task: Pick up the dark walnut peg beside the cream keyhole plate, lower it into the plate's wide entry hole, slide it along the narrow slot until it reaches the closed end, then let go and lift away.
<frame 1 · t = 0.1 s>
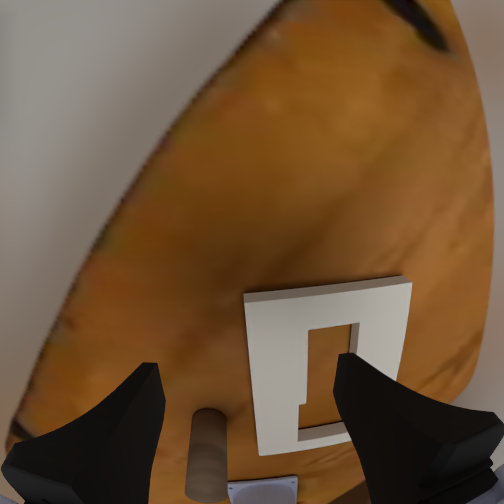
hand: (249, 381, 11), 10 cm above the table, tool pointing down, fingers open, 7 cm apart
peg: (209, 420, 24), on the table
keyhole plate: (325, 374, 23), on the table
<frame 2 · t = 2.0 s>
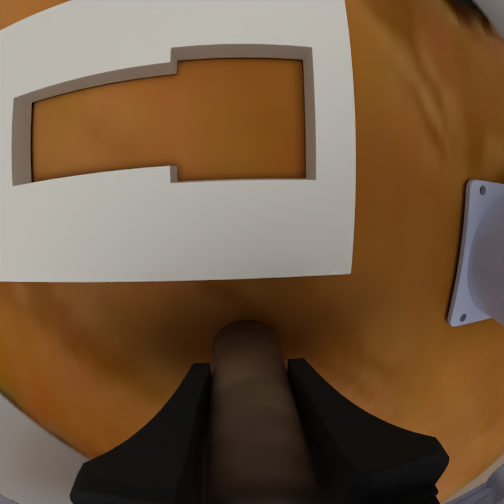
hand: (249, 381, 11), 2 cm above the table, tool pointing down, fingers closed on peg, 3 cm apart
peg: (246, 349, 14), on the table, touching gripper
keyhole plate: (139, 122, 11), on the table
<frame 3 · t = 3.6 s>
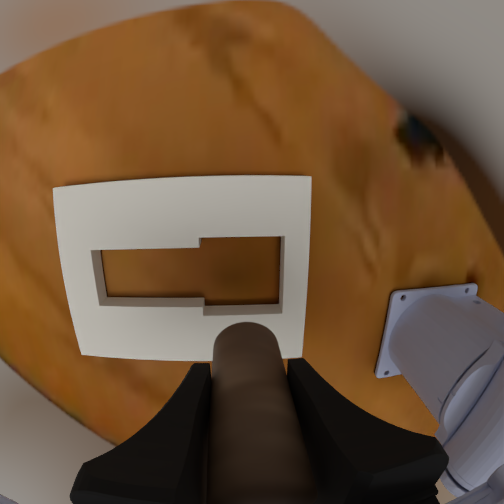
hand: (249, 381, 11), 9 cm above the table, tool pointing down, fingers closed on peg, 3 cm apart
peg: (246, 349, 14), point 7 cm above the table, touching gripper
keyhole plate: (179, 270, 20), on the table
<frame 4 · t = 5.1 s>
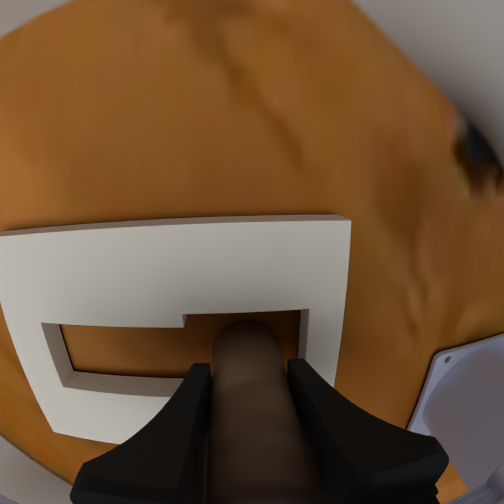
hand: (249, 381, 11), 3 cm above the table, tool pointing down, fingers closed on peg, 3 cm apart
peg: (246, 349, 14), on the table, touching gripper
keyhole plate: (161, 347, 14), on the table
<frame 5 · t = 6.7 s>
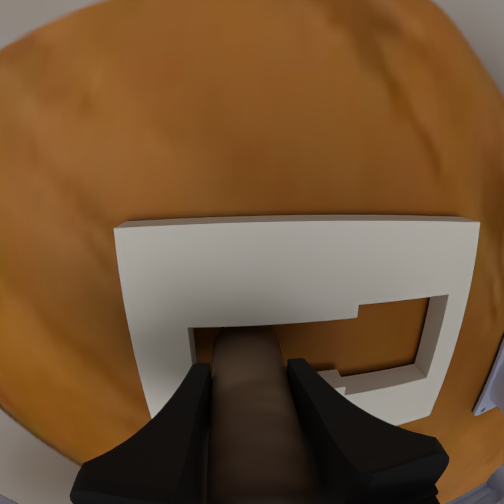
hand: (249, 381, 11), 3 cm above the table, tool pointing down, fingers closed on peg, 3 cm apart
peg: (246, 349, 14), on the table, touching gripper
keyhole plate: (311, 341, 14), on the table
when the fingers open (3 cm above the table, at t = 8.0 s): peg stays where it is, on the table.
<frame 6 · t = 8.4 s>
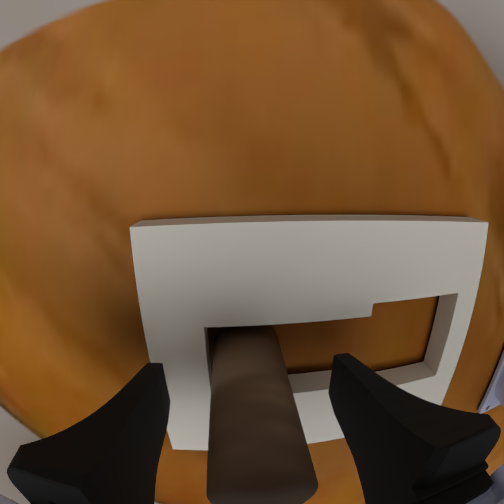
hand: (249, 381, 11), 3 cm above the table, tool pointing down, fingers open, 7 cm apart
peg: (246, 346, 14), on the table
keyhole plate: (325, 340, 14), on the table
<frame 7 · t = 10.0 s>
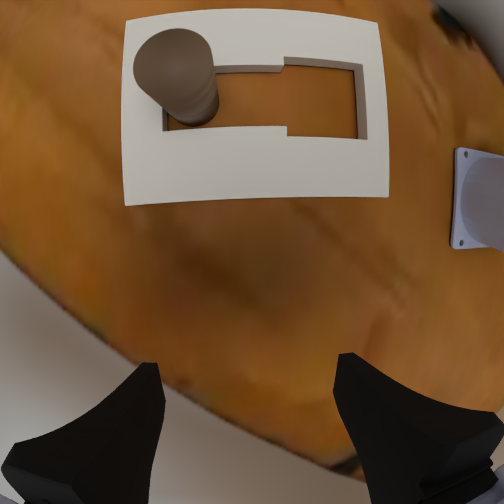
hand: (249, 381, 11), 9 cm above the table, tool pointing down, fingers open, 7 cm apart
peg: (194, 103, 17), on the table
keyhole plate: (256, 99, 17), on the table
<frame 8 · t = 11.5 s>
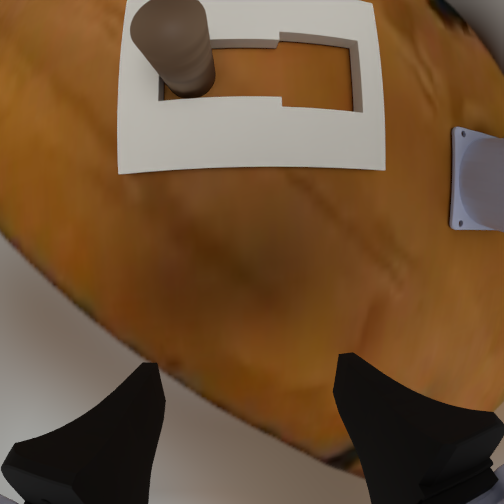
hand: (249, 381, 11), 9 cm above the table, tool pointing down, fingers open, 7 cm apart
peg: (191, 76, 17), on the table
keyhole plate: (252, 73, 17), on the table
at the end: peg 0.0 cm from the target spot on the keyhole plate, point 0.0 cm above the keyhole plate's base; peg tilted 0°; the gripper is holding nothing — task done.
